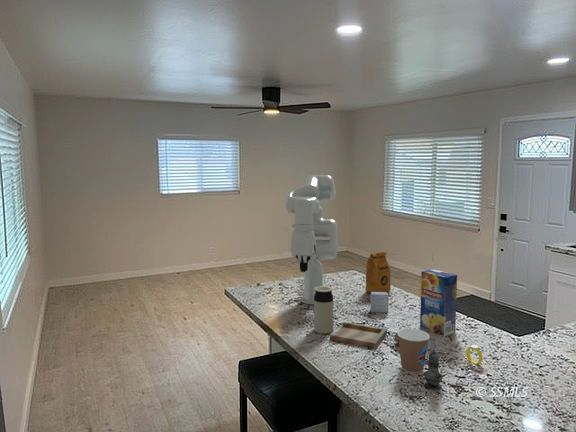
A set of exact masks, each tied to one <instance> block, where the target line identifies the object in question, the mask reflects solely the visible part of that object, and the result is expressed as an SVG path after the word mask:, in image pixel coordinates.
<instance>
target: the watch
mask: <svg viewBox="0 0 576 432" xmlns="http://www.w3.org/2000/svg"><path fill="white" fill-rule="evenodd" d="M471 350H473V351H475V352H477V355H478V362H477V361H475V360H473V359H472V357H471V353H470V352H471ZM465 352H466V354H465V355H466V357H467V359H468V361H469V363H472V364H473V365H476V366H477V365H480V364H482V362H483V361H484V360H483V358H484V357H483V354H482V351H481V349H480V346H478V344H477V345H476V344H471V345H469V346H468V347H467V348H466V351H465Z"/></svg>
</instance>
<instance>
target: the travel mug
mask: <svg viewBox="0 0 576 432" xmlns="http://www.w3.org/2000/svg"><path fill="white" fill-rule="evenodd" d="M333 290H334V289H333V287H331V286H327V285H323V286H318V287H315V292H316V293H315V295H314V305H313V331H314V332H316V333H317V334H324V335H325V334H331V333H333V331H334V295H333Z"/></svg>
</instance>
